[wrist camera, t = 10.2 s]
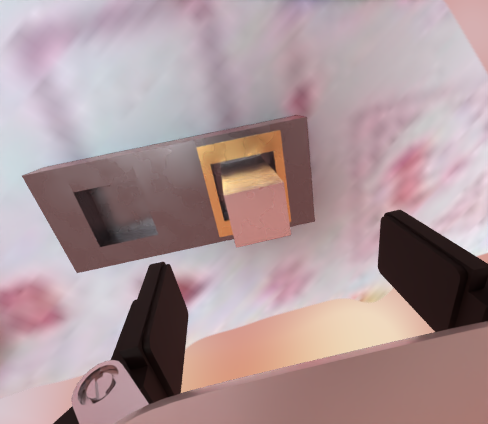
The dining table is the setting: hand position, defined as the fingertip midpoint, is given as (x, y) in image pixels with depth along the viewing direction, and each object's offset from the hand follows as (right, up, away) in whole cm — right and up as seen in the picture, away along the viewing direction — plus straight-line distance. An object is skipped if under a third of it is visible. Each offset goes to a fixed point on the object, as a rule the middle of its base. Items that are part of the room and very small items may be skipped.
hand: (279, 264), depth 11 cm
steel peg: (-2, +6, +14) cm, 15 cm away
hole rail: (-7, +4, +15) cm, 17 cm away
